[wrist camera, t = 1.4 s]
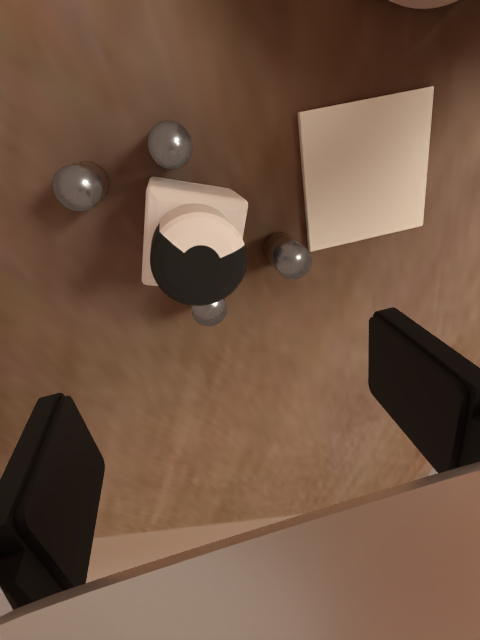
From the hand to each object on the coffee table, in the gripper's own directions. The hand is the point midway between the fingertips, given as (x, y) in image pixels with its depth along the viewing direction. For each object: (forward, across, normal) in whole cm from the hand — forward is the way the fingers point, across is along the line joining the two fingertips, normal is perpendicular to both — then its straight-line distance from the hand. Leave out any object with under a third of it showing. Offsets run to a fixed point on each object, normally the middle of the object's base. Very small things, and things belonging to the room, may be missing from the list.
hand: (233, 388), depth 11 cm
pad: (+24, -17, -1) cm, 29 cm away
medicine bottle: (+24, 0, 0) cm, 24 cm away
